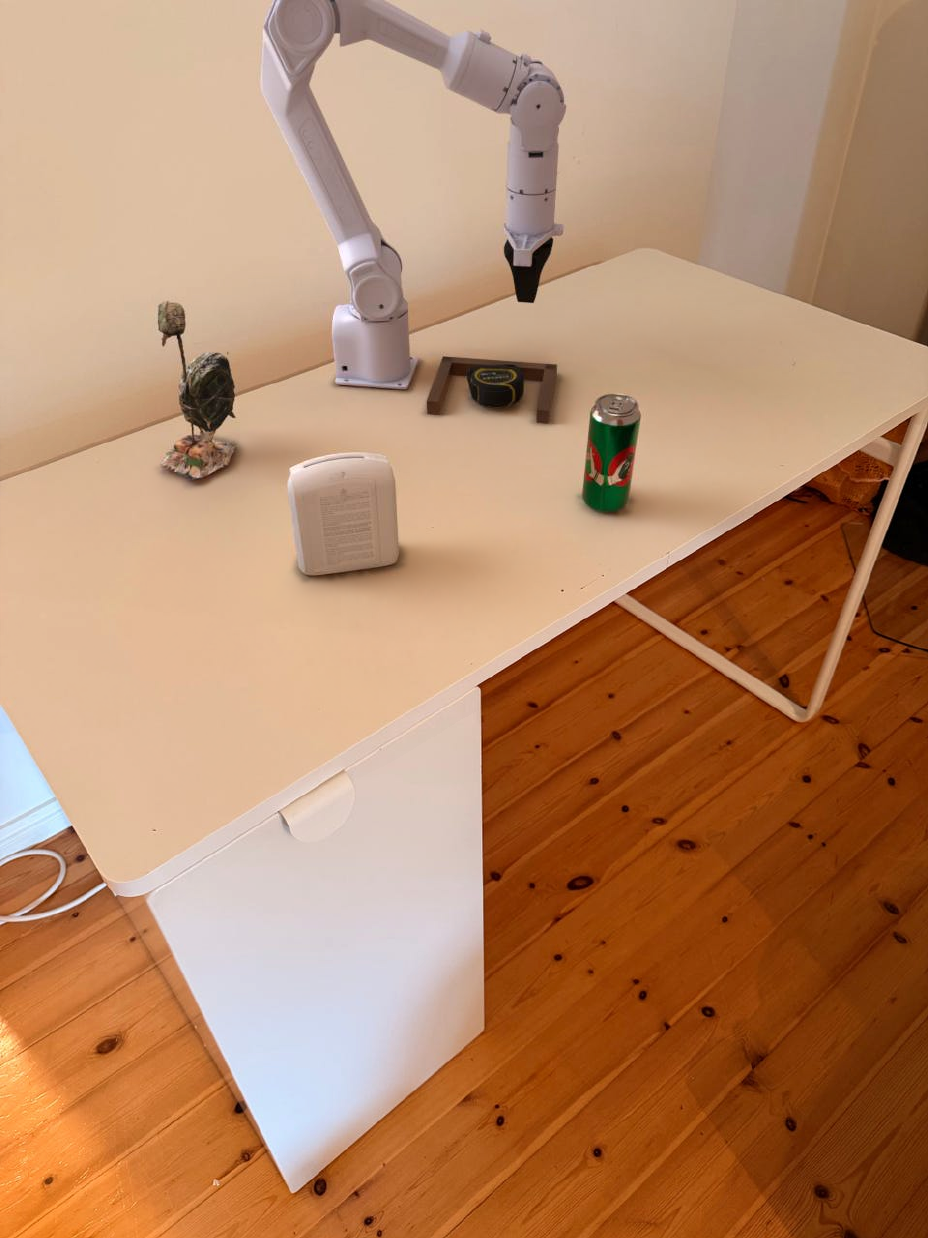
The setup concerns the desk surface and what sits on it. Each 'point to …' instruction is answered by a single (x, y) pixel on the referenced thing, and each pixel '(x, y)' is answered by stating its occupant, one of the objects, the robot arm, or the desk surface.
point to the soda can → (610, 452)
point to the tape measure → (495, 385)
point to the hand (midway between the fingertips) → (526, 300)
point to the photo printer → (343, 513)
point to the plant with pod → (199, 402)
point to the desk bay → (461, 365)
